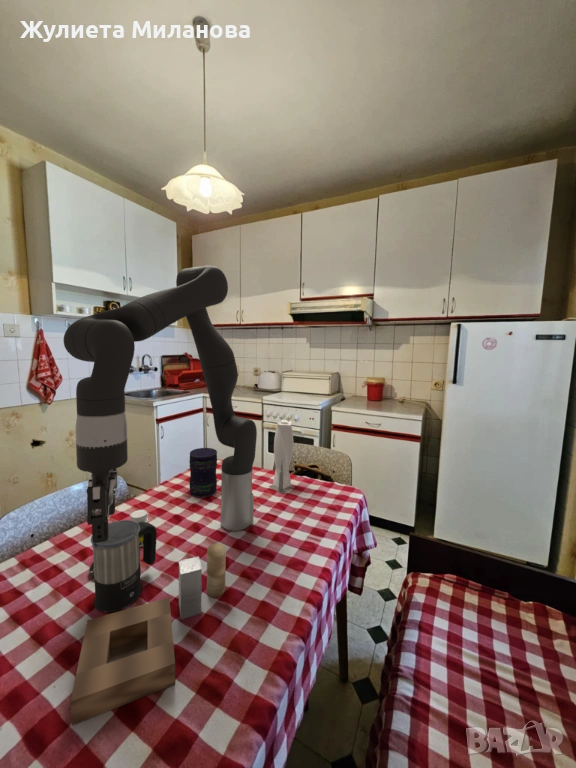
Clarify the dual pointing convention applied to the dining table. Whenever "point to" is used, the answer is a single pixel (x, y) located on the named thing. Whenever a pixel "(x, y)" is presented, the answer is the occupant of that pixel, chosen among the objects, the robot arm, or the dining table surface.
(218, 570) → the round dowel
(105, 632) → the bore block
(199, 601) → the square peg
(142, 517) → the supplement bottle
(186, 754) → the dining table surface
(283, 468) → the skyscraper
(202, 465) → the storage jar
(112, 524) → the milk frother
